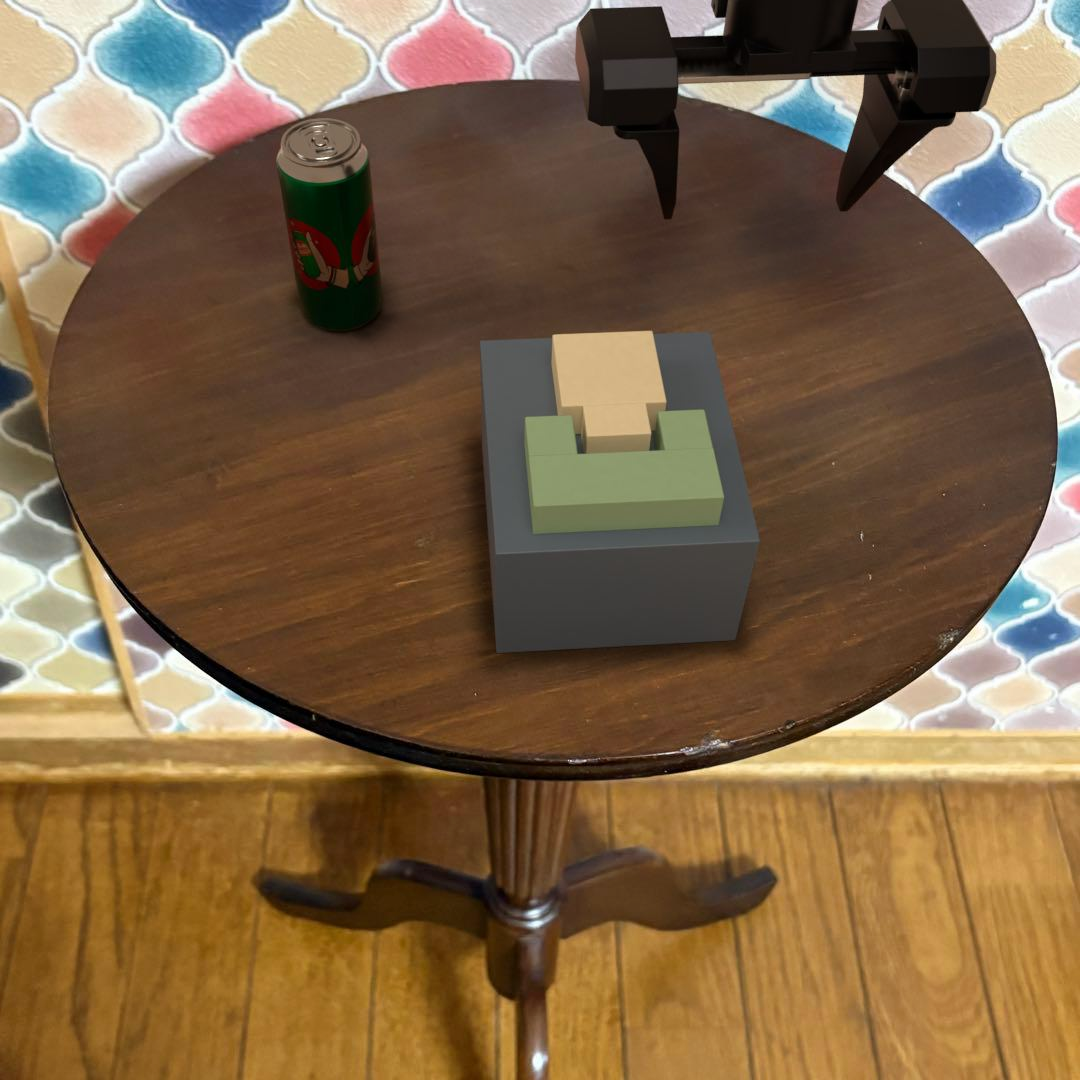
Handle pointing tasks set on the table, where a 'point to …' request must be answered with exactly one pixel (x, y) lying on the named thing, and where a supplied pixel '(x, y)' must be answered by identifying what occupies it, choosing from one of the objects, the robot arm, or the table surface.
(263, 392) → the table surface
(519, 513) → the block
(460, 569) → the table surface
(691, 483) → the green pad
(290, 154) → the soda can
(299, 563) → the table surface
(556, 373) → the cream pad
